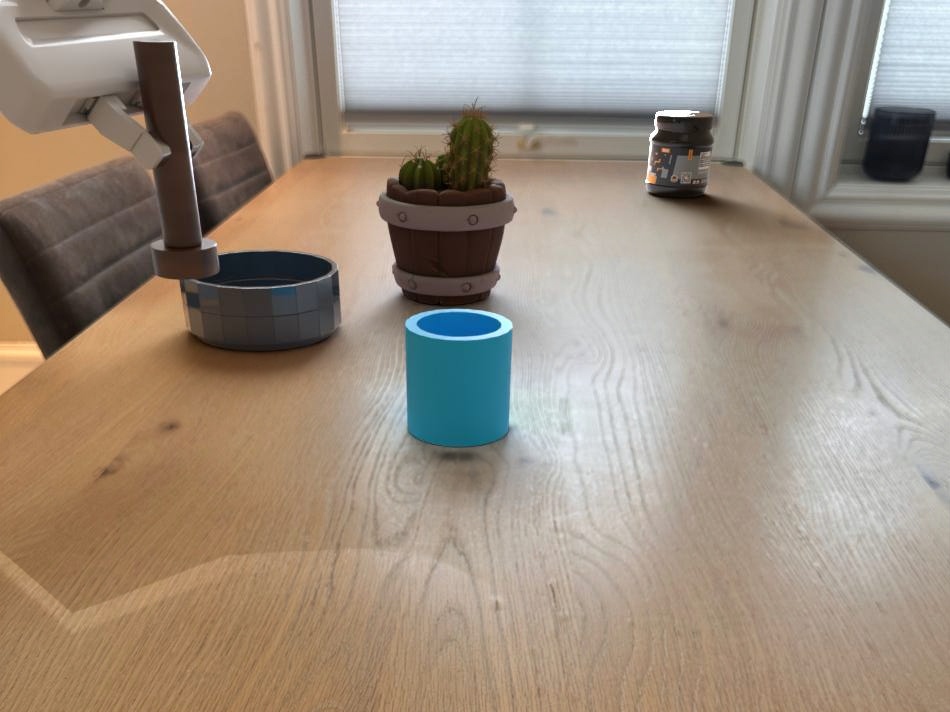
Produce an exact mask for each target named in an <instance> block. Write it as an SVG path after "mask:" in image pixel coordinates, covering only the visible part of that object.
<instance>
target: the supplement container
mask: <svg viewBox="0 0 950 712" xmlns="http://www.w3.org/2000/svg"><path fill="white" fill-rule="evenodd" d="M714 123H715V115H714V114H712V113H709V112H702V111H692V110H664V111H663V110H662V111H658V112H656V114H655V119H654V126H655V130H654V131H653V132H652V133H651V134H650V137H649V143H650V145H649V152H648V161H647V163H648V164H647V170H646V171H647V172H646V179H645V189H646V190H647V192H649V193H650V194H652V195H655V196H659V197H666V198H677V199H679V198H682V199H683V198H684V199H685V198H687V199H688V198H696V197H697V198H698V197H700V196H702V195H703V194H705V193H706V192H707V190H708V185H709V176H710V168H711V163H712V155H713V146H714V144H715V137H714V134H713V133H712V132H711V131H712V130H713V128H714Z"/></svg>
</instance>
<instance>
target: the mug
mask: <svg viewBox="0 0 950 712" xmlns="http://www.w3.org/2000/svg"><path fill="white" fill-rule="evenodd" d="M513 328H514V327H513V322H512V321H511V320H510V319H508V317H506V316H503V315H501V314H498V313H496V312H495V313H494V312H491V311H486V310H480V309H472V308H471V309H470V308H443V309H434V310H428V311H423V312H419V313H416V314H414V315H412V316H410V317H409V318H407V319H406V320H405V324H404V335H405V339H404V340H405V379H406V380H405V383H406V385H405V386H406V417H407V418H406V425H407V427H406V428H407V430H408V432H409V433H410V435H411V436H413V437H414V438H416V439H417V440H420V441H422V442H426V443H428V444H432V445H437V446H442V447H443V446H444V447H451V448H452V447H459V448H467V447H476V446H483V445H487V444H490V443H491V444H492V443H494V442H496V441H498V440H500V439H503V438H504V437H505V436H506V435H507V434H508V432H509V429H510V407H511V405H510V404H511V377H512V356H513V355H512V353H513V352H512V351H513V331H514V330H513Z"/></svg>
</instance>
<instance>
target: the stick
mask: <svg viewBox="0 0 950 712" xmlns="http://www.w3.org/2000/svg"><path fill="white" fill-rule="evenodd" d="M133 47H134V53H135V60H136V66H137V73H138V79H139V86H140V92H141V99H142V105H143V112H144V114H143V117H144V123H145V129H146V130H148V131H154V130H155V131H156V132H157V133H158V134H159V135H160V136H161V138H162V140H163V141H164V142H165V143H167V145H168V146H169V147H170V149H171V156H170V157H169V158H168V159H167V160H166V163H165V164H164V165H163V166H162V167H158V168H154V169H151V170H152V175H153V182H154V188H155V196H156V202H157V203H156V204H157V207H158V215H159V216H158V217H159V221H160V228H161V235H162V239H158V240H155V241H153V242H151V243H150V245H149V247H150V254H151V260H152V265H153V266H152V267H153V272H154V275H155V276H157V277H158V278H162V279H167V280H176V281H179V280H191V279H200V278H206V277H210V276H213V275H215V274H217V273H218V272H219V271H220V268H219V260H218V253H219V252H218V244H217V241H215V240H214V239H210V238H207V237H203V235H202V227H201V221H200V212H199V206H198V205H199V204H198V198H197V190H196V183H195V177H194V176H195V175H194V167H193V160H192V159H191V151H190V144H189V136H188V129H187V121H186V115H187V113H186V106H184V99H183V91H182V83H181V76H180V68H179V61H178V53H177V46H176V41H175V40H167V39H138V40H133ZM185 113H186V114H185Z"/></svg>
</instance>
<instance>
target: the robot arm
mask: <svg viewBox="0 0 950 712" xmlns="http://www.w3.org/2000/svg"><path fill="white" fill-rule="evenodd" d="M138 39H167V40H175V41H176V46H177V53H178V61H179V68H180V76H181V83H182V91H183V99H184V106H185V107H189V106H192V105H193V104H194V103H195V102H196V101H197V99H198V97H199V96H200V95H201V93H202V92H203V90H204V89H205V87H206V86H207V84H208V82H210V80H211V77H212V70H211V67H210V62H209V61H208V58H207V57H206V55H205V53H204V51H203V50H202V49H201V47H200V46H199V45H198V44H197V42H196V41H195V40H194V38H193V37H192V36H191V34H190V33H189V32H188V30H186V28H185V27H184V26H183V24H182V23H181V21H180V20H178V18H177V16H175V14H174V13H173V12H172V10H171V9H170V8H169V7H168V6H167V5H166V4H165V3H164V1H163V0H0V113H1V114H2V115H3V117H4V118H5V119H6V120H7V121H8V122H9V123H10V124H12V125H13V126H14V127H17V128H18V129H20V130H22V131H23V132H25V133H27V134H29V135H39V134H44V133H49V132H54V131H60V130H65V129H73V128H76V127H81V126H87V125H92V126H93V127H94V128H95V130H96V131H97V132H98V133H99V134H100V135H101V136H103V137H104V138H105V139H107V140H108V141H110V142H112V143H114V144H116V145H118V146H119V147H120V148H122V149H124V150H125V151H127V152H129V153H131V154H132V156H133V157H134V158H135V159H136V160H137V161H138V162H139V163H140V165H142V167H143V168H144V169H146V171H147V170H148V171H150V170H152V169H154V168H158V167H162V166H163V165H164V164H165V163H166V160H167V159H168V158H169V157H170V156H171V149H170V147H169V146H168V145H167V143H165V142H164V141H163V140H162V138H161V136H160V135H159V134H158V133H157V132H156V131H155V130H154V131H148V130H146V127H144V126H143V125H142V124H141V123H139V122H138V121H137V120H135V118H133V117H135V116H141V115H144V112H143V105H142V99H141V92H140V86H139V79H138V73H137V66H136V60H135V53H134V47H133V40H138ZM185 114H186V121H187V129H188V136H189V144H190V151H191V159H195V158H197V156H198V155H199V154H200V153H201V151H202V150H203V148H204V140H203V138H202V137H201V136H200V135H199V133H198V132H197V131H196V130H195V129H194V127H193V126H192V125H191V124H190V121H189V119H188V116H187V115H188V114H187V113H186V112H185Z"/></svg>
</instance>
